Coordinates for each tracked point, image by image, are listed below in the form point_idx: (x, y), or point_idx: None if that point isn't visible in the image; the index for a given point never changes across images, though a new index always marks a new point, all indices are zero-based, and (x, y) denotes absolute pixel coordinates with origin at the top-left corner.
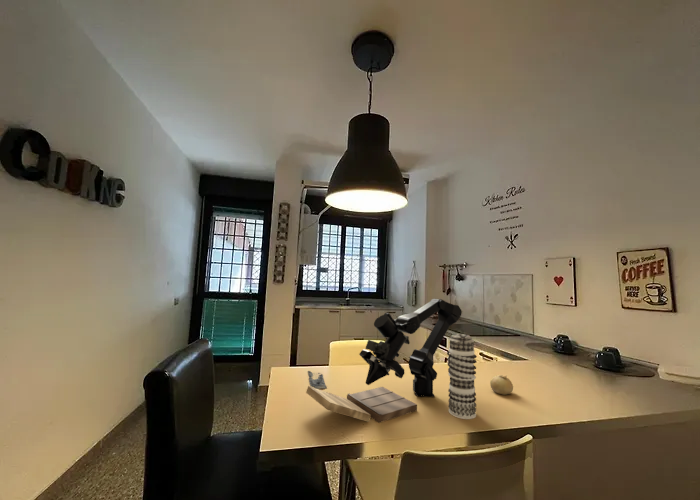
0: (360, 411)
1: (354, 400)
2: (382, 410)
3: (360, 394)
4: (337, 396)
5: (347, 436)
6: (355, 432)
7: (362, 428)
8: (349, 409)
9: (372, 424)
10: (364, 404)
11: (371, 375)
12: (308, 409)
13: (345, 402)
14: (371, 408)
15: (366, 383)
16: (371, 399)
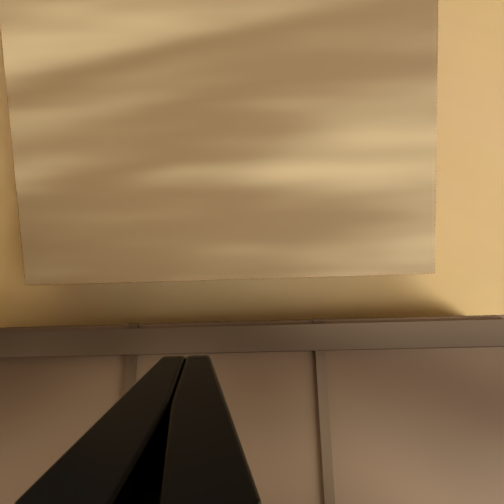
0: (25, 166)
1: (354, 319)
2: (9, 431)
3: (468, 469)
4: (386, 121)
5: (4, 72)
6: (7, 129)
7: (14, 189)
8: (4, 28)
9: (9, 279)
10: (190, 331)
11: (67, 473)
12: (442, 12)
13: (210, 112)
14: (81, 340)
15: (179, 358)
16: (282, 501)
